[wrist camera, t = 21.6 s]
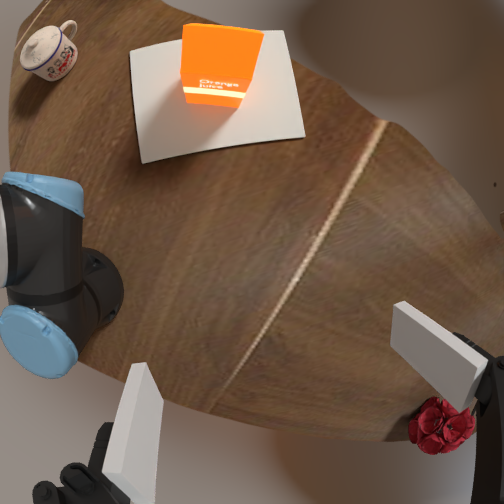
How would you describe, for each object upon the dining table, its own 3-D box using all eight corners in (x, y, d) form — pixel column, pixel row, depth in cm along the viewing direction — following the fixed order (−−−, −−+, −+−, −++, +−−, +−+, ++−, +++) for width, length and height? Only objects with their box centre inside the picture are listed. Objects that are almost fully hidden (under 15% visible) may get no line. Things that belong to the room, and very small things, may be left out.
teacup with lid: (58, 89, 36) (28, 72, 25) (34, 74, 34) (4, 57, 23) (97, 39, 35) (76, 12, 24) (71, 27, 33) (48, 2, 22)
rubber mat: (142, 163, 43) (142, 163, 43) (130, 52, 37) (129, 51, 37) (304, 137, 46) (305, 136, 46) (282, 31, 40) (283, 30, 40)
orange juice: (238, 108, 43) (261, 63, 24) (186, 103, 41) (174, 54, 22) (244, 68, 41) (269, 8, 22) (193, 63, 40) (189, 0, 20)
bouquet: (447, 373, 81) (442, 388, 60) (484, 407, 65) (488, 431, 44) (411, 413, 85) (393, 437, 65) (446, 446, 69) (436, 479, 48)
